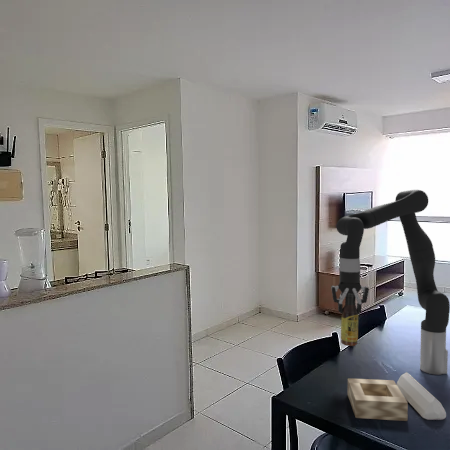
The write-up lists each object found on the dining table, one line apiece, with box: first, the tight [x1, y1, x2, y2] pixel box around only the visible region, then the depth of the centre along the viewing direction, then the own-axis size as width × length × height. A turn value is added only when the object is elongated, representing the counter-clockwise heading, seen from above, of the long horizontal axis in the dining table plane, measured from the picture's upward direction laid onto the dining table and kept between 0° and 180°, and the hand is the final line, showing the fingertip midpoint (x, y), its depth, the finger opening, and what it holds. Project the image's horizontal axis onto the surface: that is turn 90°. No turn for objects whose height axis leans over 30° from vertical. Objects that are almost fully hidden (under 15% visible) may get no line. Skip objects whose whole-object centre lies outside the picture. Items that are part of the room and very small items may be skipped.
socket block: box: [347, 378, 409, 422], centre depth 138 cm, size 16×16×6 cm
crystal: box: [396, 371, 447, 421], centre depth 140 cm, size 7×7×24 cm
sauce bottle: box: [340, 294, 359, 347], centre depth 155 cm, size 6×6×20 cm
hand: (349, 313), depth 155 cm, fingers closed on sauce bottle, 5 cm apart
